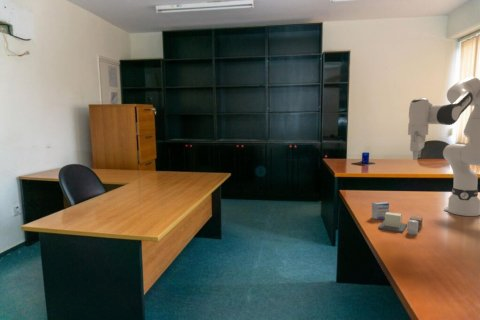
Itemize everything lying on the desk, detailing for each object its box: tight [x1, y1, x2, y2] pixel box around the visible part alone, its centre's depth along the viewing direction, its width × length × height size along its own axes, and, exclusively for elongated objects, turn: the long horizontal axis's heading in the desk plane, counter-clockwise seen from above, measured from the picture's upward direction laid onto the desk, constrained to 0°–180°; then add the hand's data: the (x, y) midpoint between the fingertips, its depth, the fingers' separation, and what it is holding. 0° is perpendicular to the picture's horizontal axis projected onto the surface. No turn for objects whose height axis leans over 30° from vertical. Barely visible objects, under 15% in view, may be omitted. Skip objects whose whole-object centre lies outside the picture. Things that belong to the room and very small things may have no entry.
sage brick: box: [384, 211, 403, 228], centre depth 164 cm, size 4×7×6 cm, turn 54°
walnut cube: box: [409, 215, 423, 231], centre depth 163 cm, size 5×5×5 cm
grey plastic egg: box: [406, 219, 419, 236], centre depth 155 cm, size 4×4×6 cm
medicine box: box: [371, 201, 390, 221], centre depth 179 cm, size 8×4×9 cm, turn 105°
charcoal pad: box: [378, 220, 408, 234], centre depth 164 cm, size 12×11×1 cm
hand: (416, 158), depth 164 cm, fingers open, 8 cm apart
